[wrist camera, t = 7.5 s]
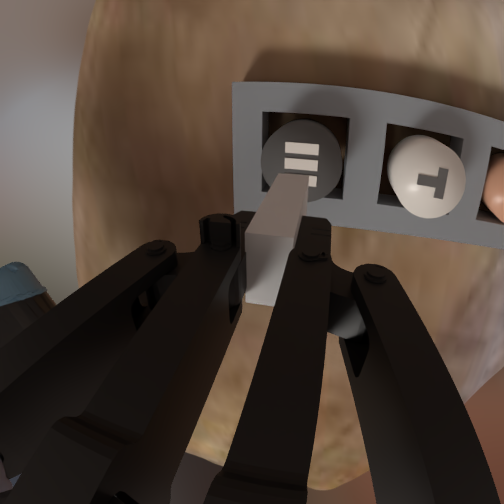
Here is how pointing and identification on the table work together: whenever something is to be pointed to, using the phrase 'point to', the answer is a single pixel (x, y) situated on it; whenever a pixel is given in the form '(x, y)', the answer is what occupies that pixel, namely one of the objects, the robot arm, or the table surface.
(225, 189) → the table surface
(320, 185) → the button black
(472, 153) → the panel
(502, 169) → the button terracotta
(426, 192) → the button white
